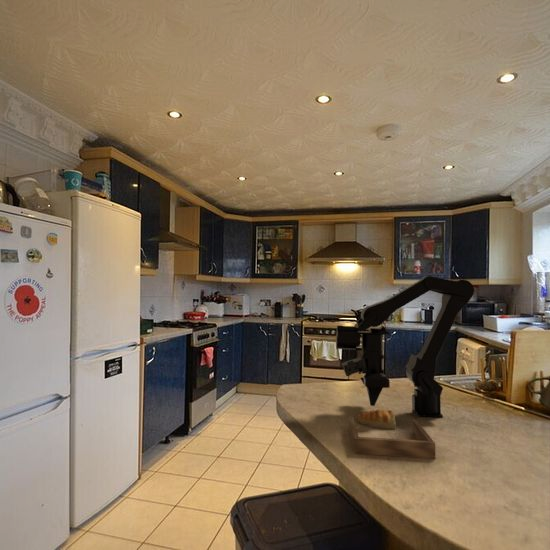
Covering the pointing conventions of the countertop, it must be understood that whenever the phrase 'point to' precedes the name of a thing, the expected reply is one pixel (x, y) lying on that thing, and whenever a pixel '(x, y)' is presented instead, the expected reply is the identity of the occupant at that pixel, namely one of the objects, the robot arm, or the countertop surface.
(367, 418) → the pastry
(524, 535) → the countertop surface
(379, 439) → the box
